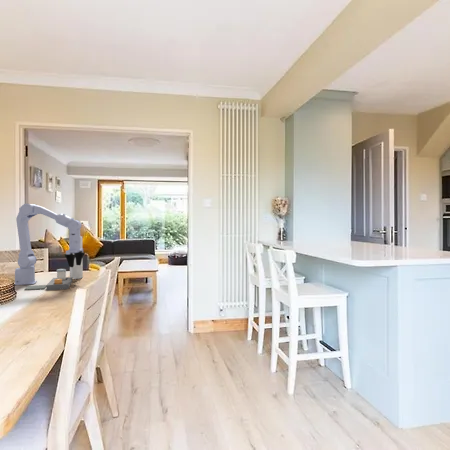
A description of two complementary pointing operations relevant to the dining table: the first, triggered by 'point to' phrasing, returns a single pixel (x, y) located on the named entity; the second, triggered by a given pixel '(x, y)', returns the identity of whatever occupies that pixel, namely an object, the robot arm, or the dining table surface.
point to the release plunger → (58, 281)
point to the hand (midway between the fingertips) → (74, 266)
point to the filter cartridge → (61, 274)
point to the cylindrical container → (77, 267)
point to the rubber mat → (35, 287)
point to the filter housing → (64, 284)
